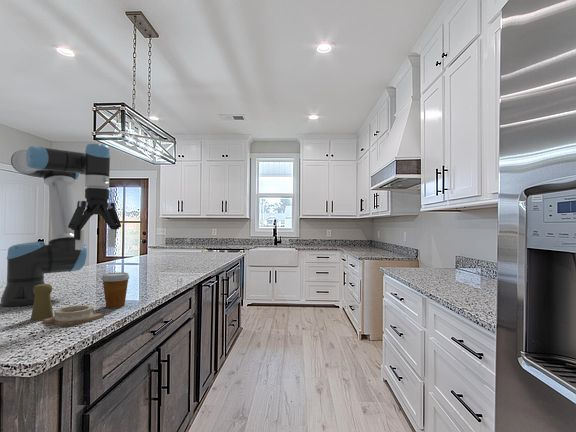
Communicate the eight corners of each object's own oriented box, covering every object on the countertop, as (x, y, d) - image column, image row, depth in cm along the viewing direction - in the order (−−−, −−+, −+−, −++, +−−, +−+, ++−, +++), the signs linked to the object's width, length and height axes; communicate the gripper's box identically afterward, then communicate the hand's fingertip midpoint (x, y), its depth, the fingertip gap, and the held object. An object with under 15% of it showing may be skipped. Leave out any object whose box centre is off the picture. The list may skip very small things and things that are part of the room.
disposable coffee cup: (100, 310, 124) (101, 276, 125) (101, 304, 133) (101, 273, 133) (130, 307, 129) (130, 274, 129) (128, 302, 137) (128, 271, 138)
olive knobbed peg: (57, 315, 117) (58, 282, 117) (43, 320, 111) (44, 286, 111) (41, 315, 118) (41, 282, 118) (26, 320, 112) (26, 285, 112)
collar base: (42, 322, 109) (42, 311, 109) (77, 313, 120) (77, 303, 120) (69, 326, 104) (69, 315, 104) (103, 316, 116) (104, 306, 116)
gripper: (73, 184, 111) (72, 251, 110) (131, 191, 134) (130, 246, 134) (56, 185, 113) (55, 250, 113) (116, 191, 137) (115, 245, 136)
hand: (96, 248), depth 123 cm, fingers open, 13 cm apart
